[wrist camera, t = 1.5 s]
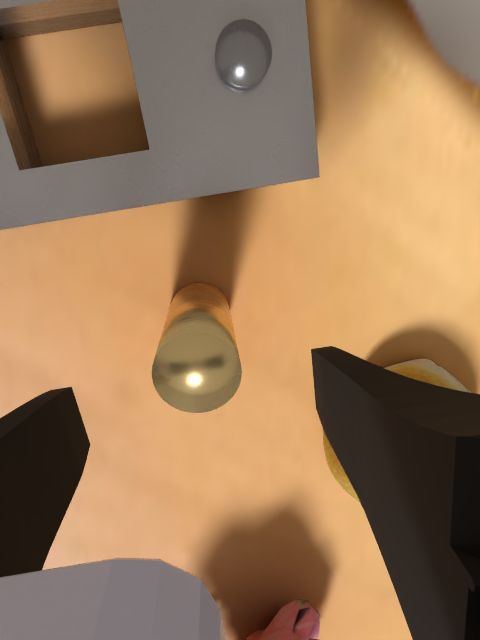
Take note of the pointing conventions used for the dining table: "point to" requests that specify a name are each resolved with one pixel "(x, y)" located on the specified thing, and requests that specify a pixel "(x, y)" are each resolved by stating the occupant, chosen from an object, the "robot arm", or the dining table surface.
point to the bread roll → (412, 369)
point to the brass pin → (197, 351)
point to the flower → (291, 624)
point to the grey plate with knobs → (171, 106)
